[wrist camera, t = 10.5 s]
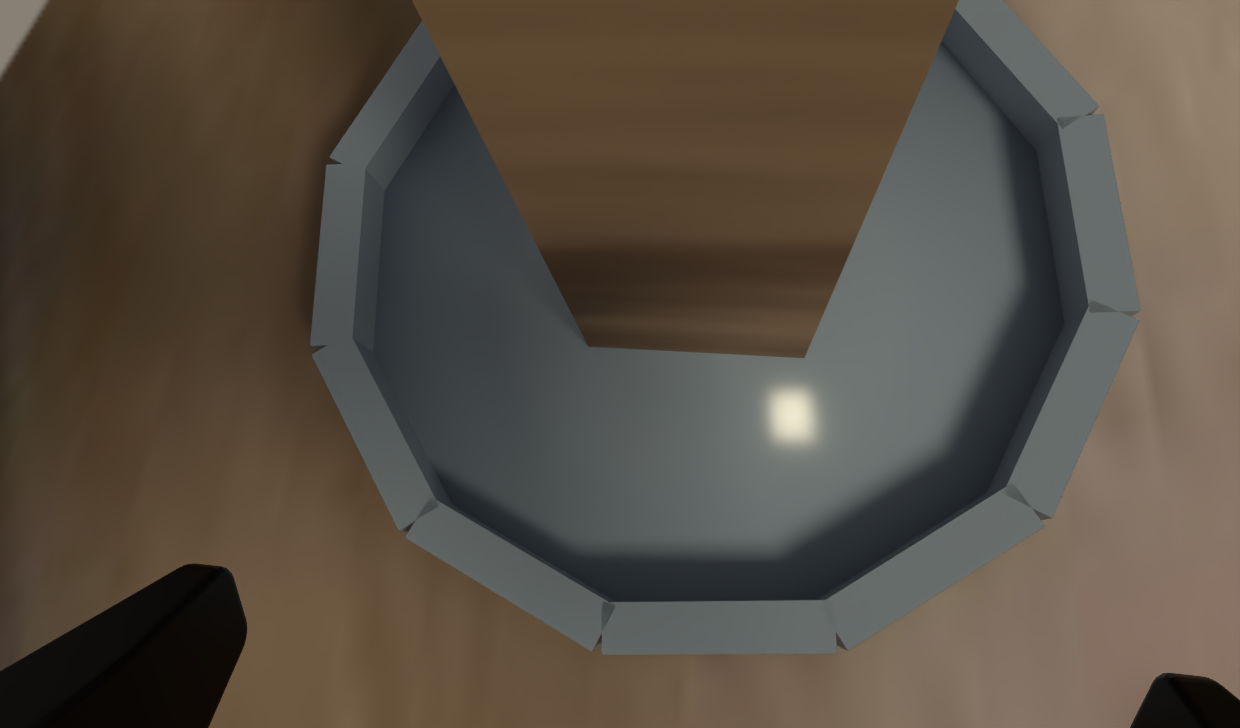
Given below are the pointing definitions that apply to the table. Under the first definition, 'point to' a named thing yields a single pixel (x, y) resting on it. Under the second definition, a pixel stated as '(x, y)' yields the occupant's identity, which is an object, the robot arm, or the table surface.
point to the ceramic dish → (734, 373)
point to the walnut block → (691, 150)
